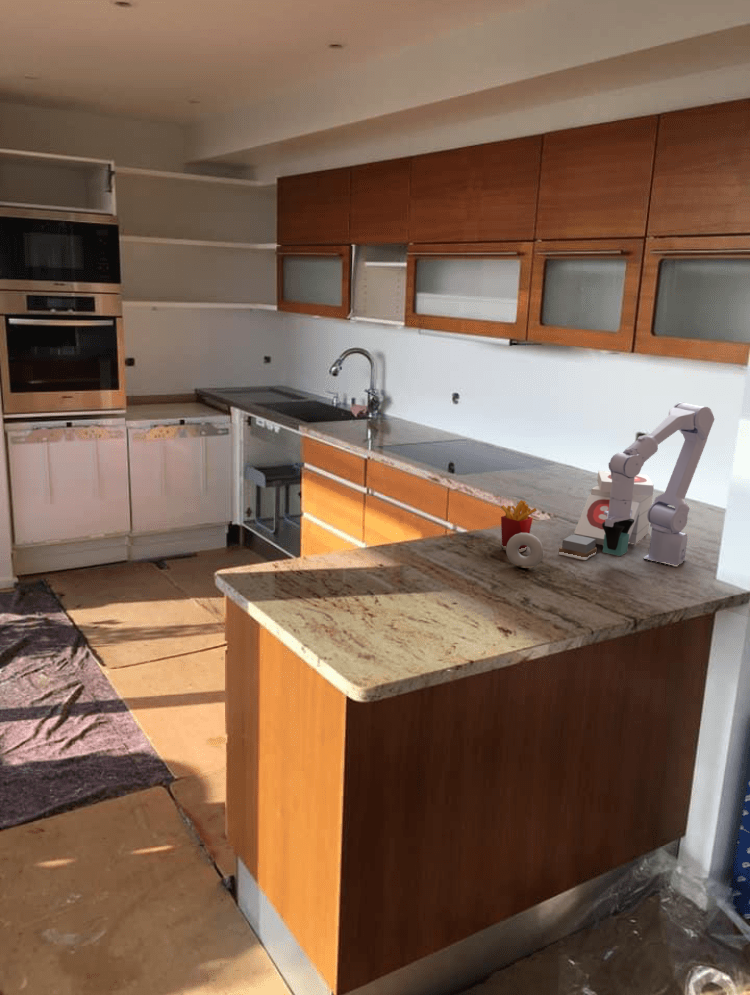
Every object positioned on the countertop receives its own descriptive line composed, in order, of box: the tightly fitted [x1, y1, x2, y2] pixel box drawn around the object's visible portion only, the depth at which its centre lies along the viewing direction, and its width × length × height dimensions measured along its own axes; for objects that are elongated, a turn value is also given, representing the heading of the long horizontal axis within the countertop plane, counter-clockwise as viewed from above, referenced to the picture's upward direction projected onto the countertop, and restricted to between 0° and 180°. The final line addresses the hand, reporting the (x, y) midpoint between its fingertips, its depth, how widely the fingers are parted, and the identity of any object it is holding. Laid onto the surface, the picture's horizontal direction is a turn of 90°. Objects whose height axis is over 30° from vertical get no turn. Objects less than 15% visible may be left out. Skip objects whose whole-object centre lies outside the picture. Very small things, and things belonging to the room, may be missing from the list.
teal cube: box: [602, 532, 629, 557], centre depth 226 cm, size 5×5×5 cm
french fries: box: [500, 499, 537, 549], centre depth 237 cm, size 9×8×15 cm
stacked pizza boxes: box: [573, 470, 654, 546], centre depth 252 cm, size 19×30×18 cm, turn 149°
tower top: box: [561, 533, 596, 553], centre depth 237 cm, size 7×7×2 cm
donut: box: [505, 533, 544, 567], centre depth 223 cm, size 10×4×10 cm, turn 68°
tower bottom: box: [558, 546, 598, 557], centre depth 238 cm, size 8×8×2 cm
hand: (615, 546), depth 226 cm, fingers closed on teal cube, 5 cm apart
